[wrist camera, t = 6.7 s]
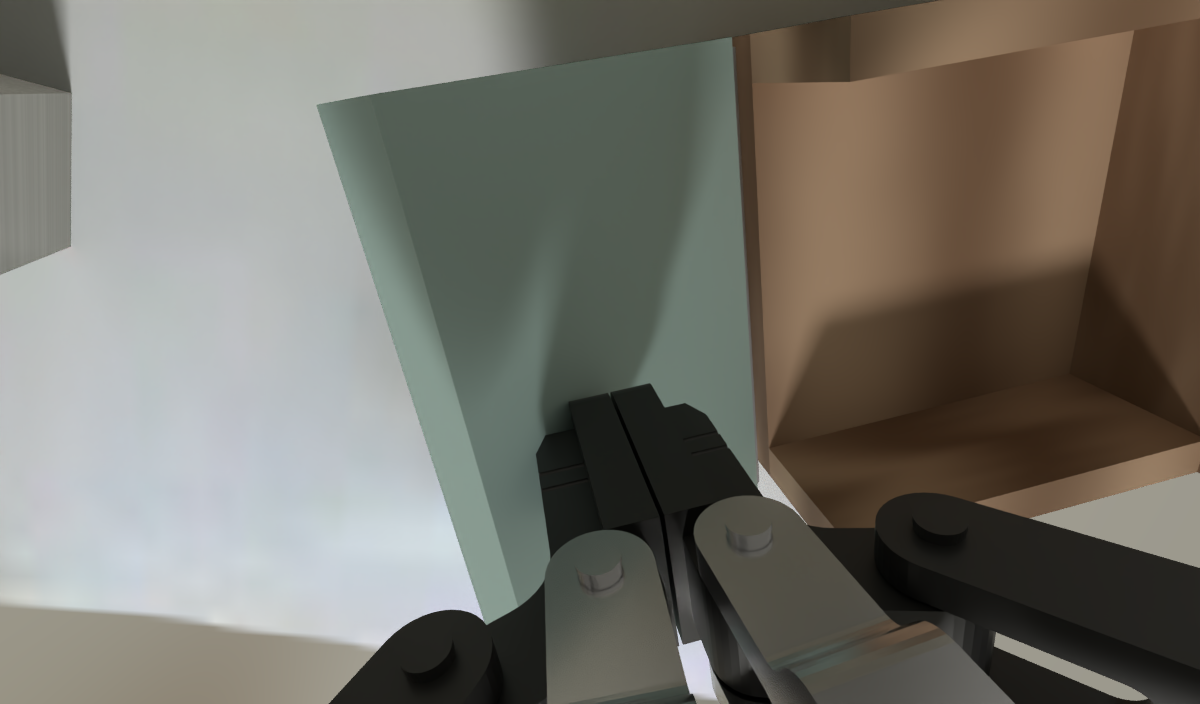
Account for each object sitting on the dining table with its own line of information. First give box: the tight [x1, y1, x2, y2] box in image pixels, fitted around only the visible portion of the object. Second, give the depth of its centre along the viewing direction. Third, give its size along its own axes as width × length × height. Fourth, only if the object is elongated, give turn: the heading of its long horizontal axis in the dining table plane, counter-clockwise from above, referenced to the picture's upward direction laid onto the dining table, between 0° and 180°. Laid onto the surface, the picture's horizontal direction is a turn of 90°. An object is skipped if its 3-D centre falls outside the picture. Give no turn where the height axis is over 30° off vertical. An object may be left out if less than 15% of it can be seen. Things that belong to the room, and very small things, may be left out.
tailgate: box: [317, 37, 759, 625], centre depth 13 cm, size 1×12×10 cm
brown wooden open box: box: [732, 0, 1200, 528], centre depth 15 cm, size 11×12×10 cm
